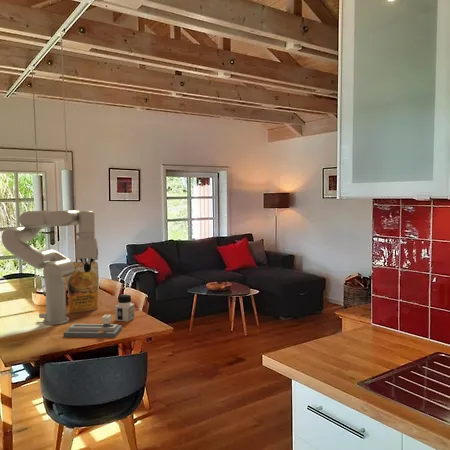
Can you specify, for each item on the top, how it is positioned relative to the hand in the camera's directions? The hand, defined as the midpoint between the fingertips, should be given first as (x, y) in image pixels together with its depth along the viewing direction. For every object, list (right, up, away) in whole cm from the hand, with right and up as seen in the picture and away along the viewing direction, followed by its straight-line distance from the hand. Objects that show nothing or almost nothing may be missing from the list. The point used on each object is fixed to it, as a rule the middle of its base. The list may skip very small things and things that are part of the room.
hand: (87, 271), depth 211 cm
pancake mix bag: (-12, -25, +28) cm, 40 cm away
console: (+7, -28, -11) cm, 31 cm away
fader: (+13, -26, -11) cm, 31 cm away
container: (+16, -27, +12) cm, 33 cm away
